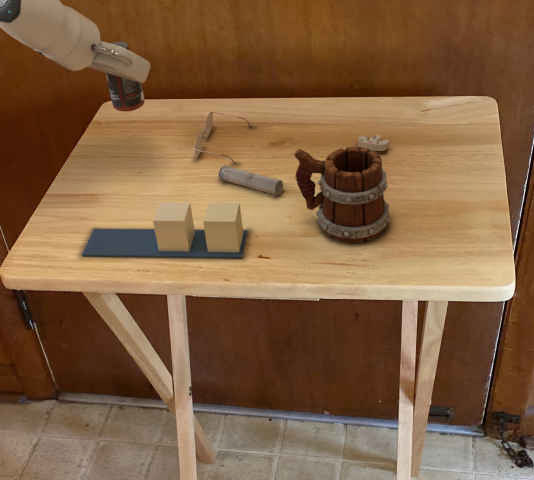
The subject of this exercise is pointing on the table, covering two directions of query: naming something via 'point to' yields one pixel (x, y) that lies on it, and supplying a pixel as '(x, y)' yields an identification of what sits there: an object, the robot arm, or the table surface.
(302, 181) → the mug
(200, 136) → the eyeglasses
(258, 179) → the rod
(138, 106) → the supplement bottle
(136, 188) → the table surface
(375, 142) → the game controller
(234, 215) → the cream block
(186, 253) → the line strip
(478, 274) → the table surface
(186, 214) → the cream block
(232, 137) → the table surface
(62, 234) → the table surface
